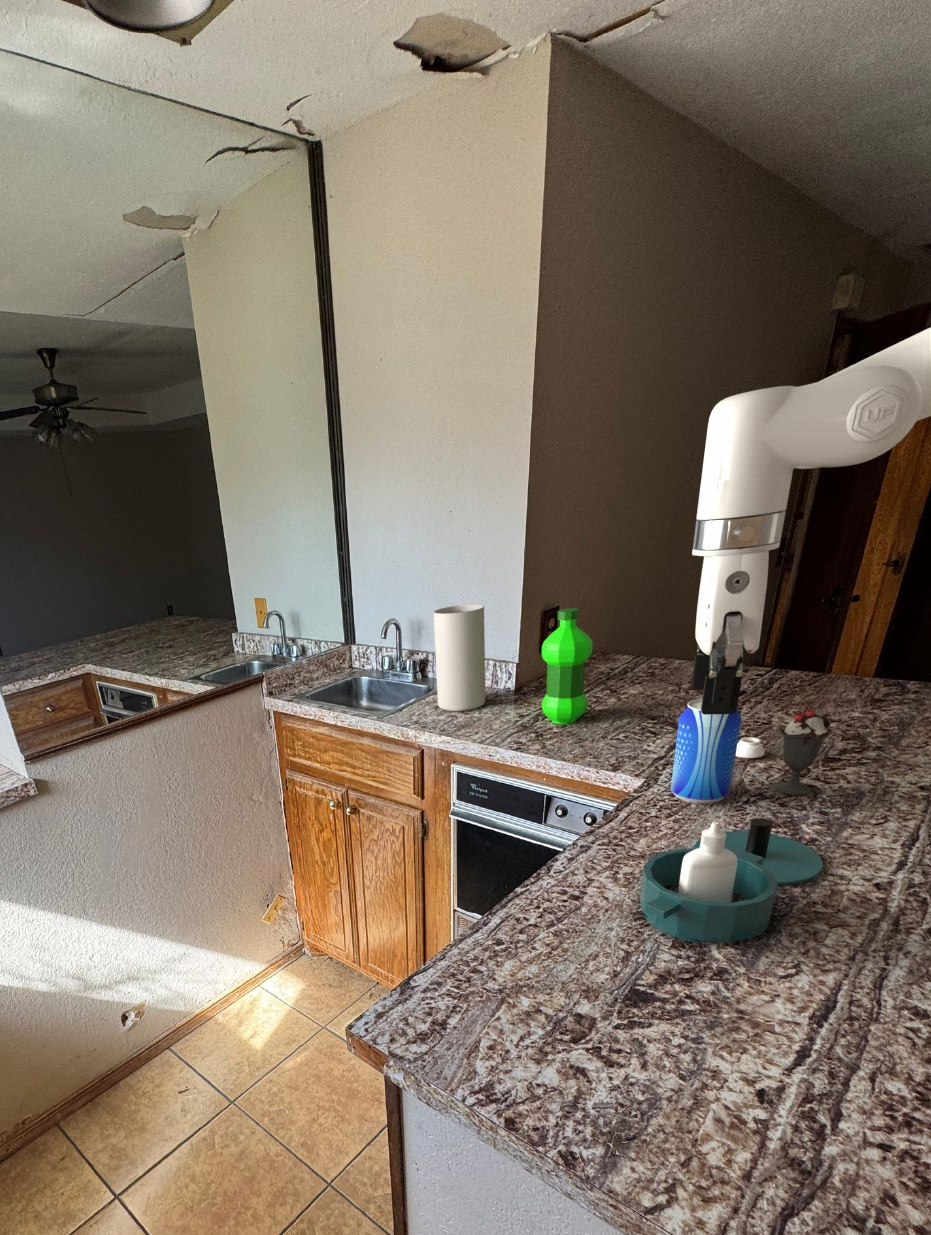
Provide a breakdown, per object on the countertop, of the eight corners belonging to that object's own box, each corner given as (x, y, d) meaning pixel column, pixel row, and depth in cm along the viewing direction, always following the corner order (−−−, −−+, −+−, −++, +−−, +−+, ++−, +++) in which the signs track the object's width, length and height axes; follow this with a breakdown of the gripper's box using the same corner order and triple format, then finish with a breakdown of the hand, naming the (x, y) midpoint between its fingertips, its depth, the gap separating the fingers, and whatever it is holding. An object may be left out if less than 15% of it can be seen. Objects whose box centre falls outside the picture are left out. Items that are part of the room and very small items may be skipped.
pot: (806, 908, 78) (815, 869, 76) (707, 970, 71) (714, 929, 69) (697, 867, 89) (702, 832, 87) (602, 917, 82) (605, 880, 80)
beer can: (669, 786, 113) (680, 696, 106) (726, 788, 109) (741, 696, 102) (670, 806, 107) (681, 711, 100) (730, 809, 103) (746, 711, 96)
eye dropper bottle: (728, 923, 77) (744, 833, 72) (674, 914, 80) (686, 828, 75) (729, 904, 80) (744, 817, 75) (677, 896, 83) (689, 812, 78)
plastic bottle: (558, 711, 158) (562, 605, 147) (597, 718, 150) (604, 606, 139) (531, 722, 154) (533, 613, 143) (569, 730, 146) (574, 615, 135)
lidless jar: (737, 760, 119) (768, 759, 118) (740, 745, 117) (771, 743, 116) (727, 751, 123) (757, 749, 122) (729, 736, 122) (759, 734, 121)
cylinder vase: (450, 715, 168) (446, 615, 157) (430, 704, 179) (425, 611, 168) (494, 705, 170) (493, 606, 159) (472, 696, 181) (469, 603, 170)
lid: (844, 863, 86) (855, 821, 83) (780, 902, 80) (789, 859, 77) (732, 828, 98) (739, 791, 95) (669, 860, 92) (674, 821, 89)
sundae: (766, 794, 105) (784, 705, 99) (769, 779, 110) (786, 693, 104) (817, 799, 102) (839, 706, 95) (817, 783, 106) (838, 694, 100)
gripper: (802, 537, 57) (767, 724, 64) (764, 525, 71) (738, 680, 78) (704, 547, 60) (681, 724, 67) (685, 533, 74) (668, 682, 81)
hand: (711, 700), depth 73 cm, fingers open, 9 cm apart
